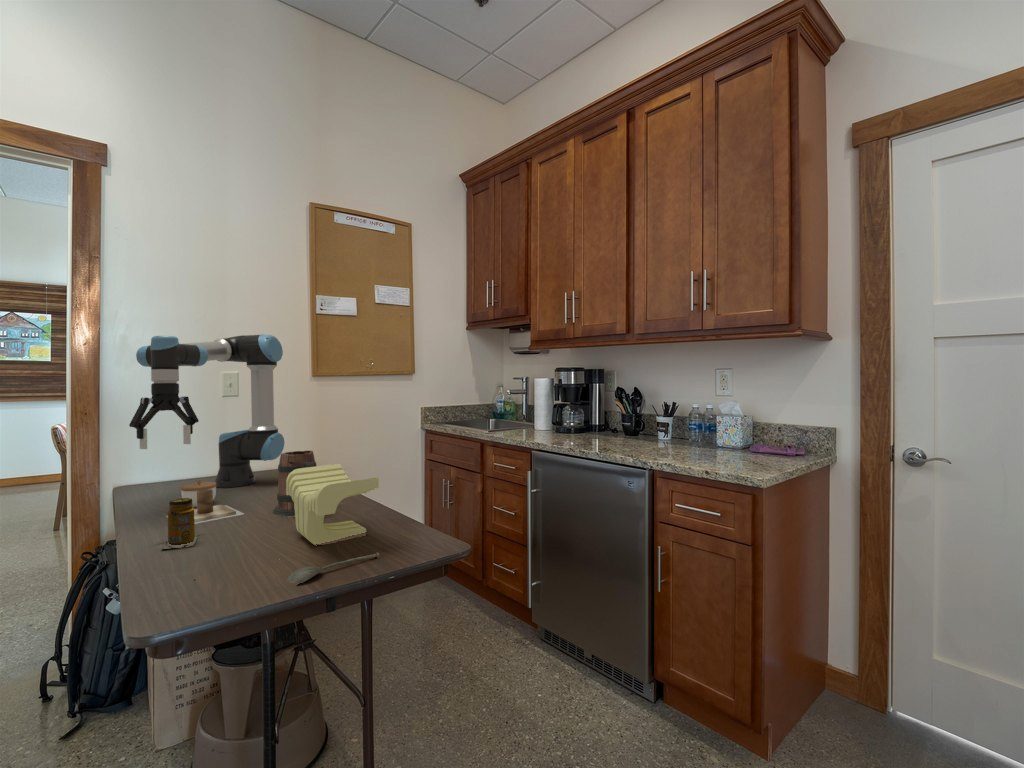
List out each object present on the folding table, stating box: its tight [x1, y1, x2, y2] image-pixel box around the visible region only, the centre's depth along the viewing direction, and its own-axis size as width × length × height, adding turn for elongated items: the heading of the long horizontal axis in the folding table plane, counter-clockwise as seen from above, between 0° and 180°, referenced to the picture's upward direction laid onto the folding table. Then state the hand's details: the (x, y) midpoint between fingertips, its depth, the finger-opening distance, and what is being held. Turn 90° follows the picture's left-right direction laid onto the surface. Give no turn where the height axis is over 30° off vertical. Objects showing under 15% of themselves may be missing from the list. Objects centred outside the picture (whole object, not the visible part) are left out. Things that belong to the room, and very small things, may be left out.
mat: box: [165, 505, 245, 525], centre depth 160 cm, size 18×18×1 cm
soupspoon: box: [286, 552, 380, 584], centre depth 112 cm, size 22×3×7 cm
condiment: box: [167, 497, 196, 545], centre depth 132 cm, size 7×8×12 cm
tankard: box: [272, 450, 317, 516], centre depth 163 cm, size 24×17×20 cm
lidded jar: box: [180, 479, 217, 508], centre depth 174 cm, size 11×11×9 cm
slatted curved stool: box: [286, 463, 380, 546], centre depth 137 cm, size 30×16×18 cm, turn 38°
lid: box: [194, 489, 236, 522], centre depth 160 cm, size 14×14×8 cm
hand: (166, 446), depth 161 cm, fingers open, 13 cm apart
